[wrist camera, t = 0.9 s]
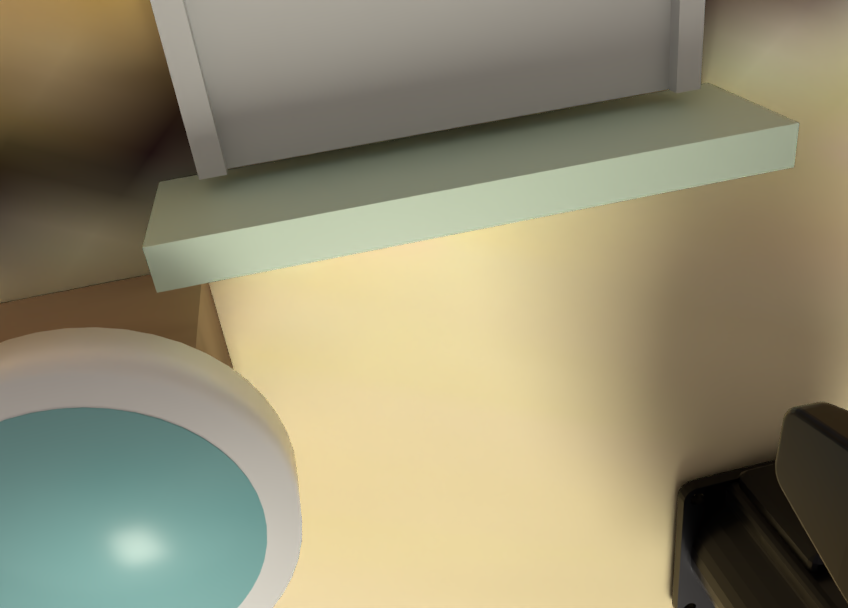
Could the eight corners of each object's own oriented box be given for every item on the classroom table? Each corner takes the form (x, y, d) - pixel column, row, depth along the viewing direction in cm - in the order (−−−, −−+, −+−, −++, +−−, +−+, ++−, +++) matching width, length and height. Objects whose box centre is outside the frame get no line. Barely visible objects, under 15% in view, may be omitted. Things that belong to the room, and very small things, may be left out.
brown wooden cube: (247, 420, 22) (250, 550, 18) (67, 460, 22) (25, 603, 18) (202, 263, 20) (193, 370, 16) (-3, 304, 19) (-72, 426, 15)
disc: (326, 578, 19) (333, 634, 18) (-19, 663, 18) (-41, 730, 17) (251, 289, 15) (253, 332, 14) (-194, 378, 14) (-242, 434, 13)
